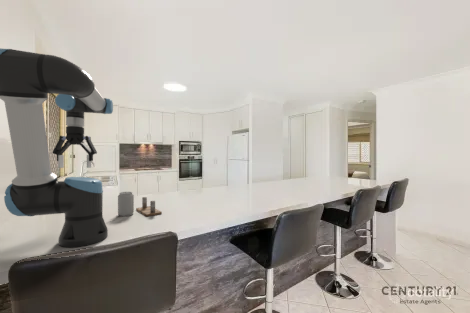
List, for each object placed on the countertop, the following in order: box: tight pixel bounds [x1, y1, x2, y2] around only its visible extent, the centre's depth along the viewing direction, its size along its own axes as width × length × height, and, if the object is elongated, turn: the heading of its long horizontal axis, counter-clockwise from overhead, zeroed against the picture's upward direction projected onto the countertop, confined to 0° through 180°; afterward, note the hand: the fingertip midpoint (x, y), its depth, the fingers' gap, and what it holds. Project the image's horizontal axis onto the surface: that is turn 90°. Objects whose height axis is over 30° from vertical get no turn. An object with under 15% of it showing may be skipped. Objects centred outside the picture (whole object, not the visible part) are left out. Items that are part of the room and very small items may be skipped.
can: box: [117, 191, 135, 217], centre depth 115 cm, size 8×8×12 cm
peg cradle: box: [135, 196, 162, 218], centre depth 120 cm, size 17×8×7 cm, turn 41°
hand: (75, 167), depth 111 cm, fingers open, 13 cm apart
